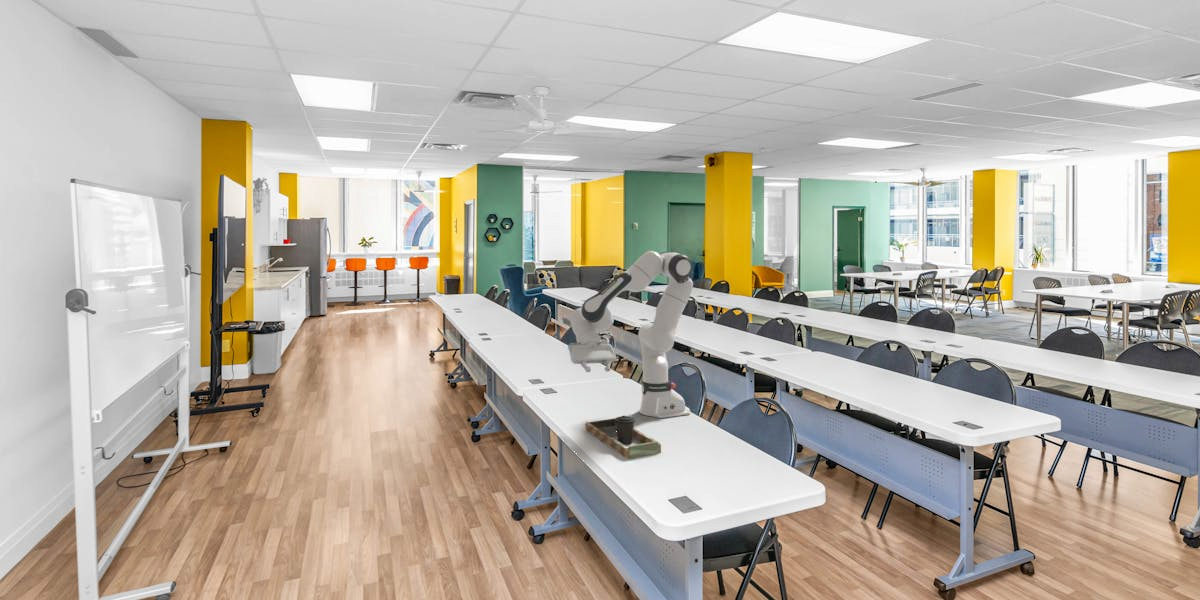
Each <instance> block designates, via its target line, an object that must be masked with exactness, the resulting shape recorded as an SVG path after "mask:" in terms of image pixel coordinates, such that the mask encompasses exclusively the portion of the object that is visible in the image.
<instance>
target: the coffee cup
mask: <svg viewBox="0 0 1200 600" xmlns="http://www.w3.org/2000/svg"><path fill="white" fill-rule="evenodd" d="M614 421H615V422H616V430H617V437H616V438H617V441H619V442H620V443H622V444H623V445H625V446H631V445H633V444H632V443H633V439H634V438H633V429H635V422H636V419H635V418H634V417H633V416H628V415H621V416H617V417H615V420H614Z"/></svg>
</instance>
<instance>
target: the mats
mask: <svg viewBox="0 0 1200 600" xmlns="http://www.w3.org/2000/svg"><path fill="white" fill-rule="evenodd" d="M599 430H601V431H602V432H604V433H605V434H607V435H608V436H610V437H611V438H613V439H614V438H617V432H616V431H617V430H616V427H615V426H614V427H608V428H601V429H599Z"/></svg>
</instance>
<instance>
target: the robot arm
mask: <svg viewBox="0 0 1200 600" xmlns="http://www.w3.org/2000/svg"><path fill="white" fill-rule="evenodd" d="M692 271H693V262H692V260H691V259H690V258H689V257H688V256H687V255H685V254H681V253H678V252H670V251H665V252H661V253H658V252H657V251H654V250H648V251H646V252H645V253H643V254H642V255H641V256H639V257H638V258H637V259H636V260H635V261H634V263H633V264H632V265H630V267H628V268H627V269H626V270H625V271H624V272H622V273H619V274H618V275H617V276H615V277H614V278H613V279H612V280H611V281H609V282H608V283H607V284H606V285H605V286H604V287H603V288H602V289H600V290H599V291H598V292H597V293H596V294H594V295H593V296H591V297H589V298H587V299H586V300H585V301H584V302H583V304H582V306H581V307H578V308H576V309H574V310H573V311H571V314H570V316H569V317H570V319H569V320H570V325H571V329H572V332H573V334H574V336H575V340H576V342H571V343H569V344H568V345H567V349H568V351H569V356H570V357H569V358H570V361H571V363H573V364H574V365H580V367H582V368H583V369H584V370H585V372H586V373H590V372H591V370H592V369H591V366H588V365H587V364H604V365H605V367H604V370H605V372H610V371H611V367H610V366H611V364H612V363H614V362H615V360H617V355H616V354H617V353H616V352H615V350H614V348H613V346H612V344H611V343H610V339H609V338H608V337H605V336H602V335H600V333H603V332H606V331H608V330H609V329H611V328H612V327H613V325H614V322H615V317H614V314H613V313H612V312H611V310H610V309H609V308H608V305H609V304H610V303H611V302H612V301H613V300H614V299H615V298H617V296H618V295H620V294H621V293H622V292H626V291H628V292H633V293H640V292H642V291H644V290H645V289H646V288H647V287H648V286H649V285H650V284H651V283H652V282H653V281H654V279H656V277H658V275H661V276H664V277H667V278H668V282H667V287H666V288H665V290H664V292H663V294H662V296H661V298H660V300H659V302H658V304H657V306H656V308H655V316H654V319H653V323H645V324H643V325H642V326H641V327H640V328H639V330H638V339H639V344H640V345H639V346H640V352H641V359H642V381H641V393H642V395H641V396H642V397H641V403H640V407H639V410H638V412H639V413H640V414H642V415H644V416H646V417H653V418H654V417H655V418H658V419H664V418H665V419H666V418H672V417H679V416H685V415H686V416H687V415H690V414H691V409H690V408H689V407H687V406H686V402H685V399H684V397H683V396H682V395H680V394H679V393H678V392H676V390H674V388H676V384H675V383H674V382H672V381H669V362H668V359H667V355H666V353H668V352H669V351H671V350H672V349H673V347H674V344H675V335H676V330H677V329H678V328H677V327H678V323H679V321H680V318H681V316H682V314H683V312H684V310H685V308H686V306H687V305H688V301H689V299H690V297H691V294H692V291H693V287H694V282H693V280H692V279H691V277H692Z"/></svg>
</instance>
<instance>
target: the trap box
mask: <svg viewBox="0 0 1200 600" xmlns="http://www.w3.org/2000/svg"><path fill="white" fill-rule="evenodd" d="M615 418H616V417H615ZM615 418H608V419H602V420H595V421H589V422H585V431H586V430H587V432H588V433H589V432H590V433H589V434H590V435H592V434H593V435H592V436H594V437H595V436H596V437H595V438H596V439H598V440H599V441H601V442H602V443H604V444H606V446H609V447H610V448H611V449H613V450H614V451H616V452H617V453H618V454H620V455H622V456H623V457H625V459H632V458H636V457H637V458H638V457H641V456H646V455H648V456H649V455H653V454H659V453H661V452H662V443H660V442H659V441H657V440H656V439H654V438H652V437H651V436H649V435H647V434H644V433H642V432H640V431H639V430H638V429H635V428H634V429H633V438H632V439H635V440H636V441H639V443H638V444H630V445H623V444H622V443H620V442H619V441H618V439H615V438H614V437H613V438H611V437H610V436H608V435H607V434H605V433H604V432H602V431H601V430H599V429H600V428H601V429H604V428H610V427H613V426H614V427H615V426H616V422H615V421H614V420H615Z"/></svg>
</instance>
